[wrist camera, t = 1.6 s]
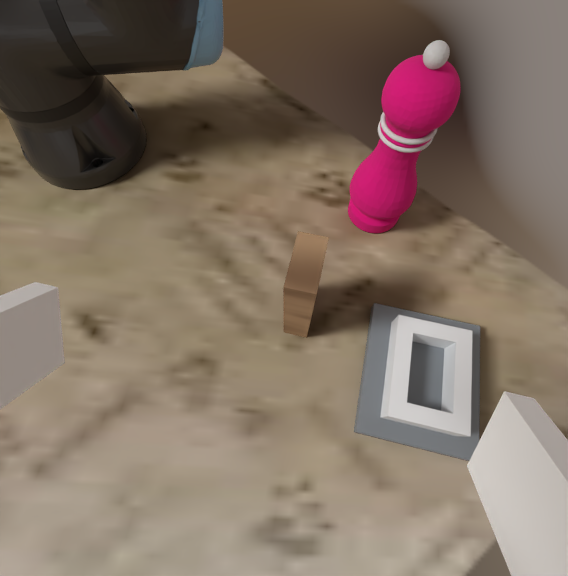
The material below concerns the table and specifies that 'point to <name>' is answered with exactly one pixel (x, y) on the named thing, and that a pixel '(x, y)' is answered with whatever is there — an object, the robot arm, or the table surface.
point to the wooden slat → (303, 282)
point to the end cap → (421, 382)
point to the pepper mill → (403, 137)
